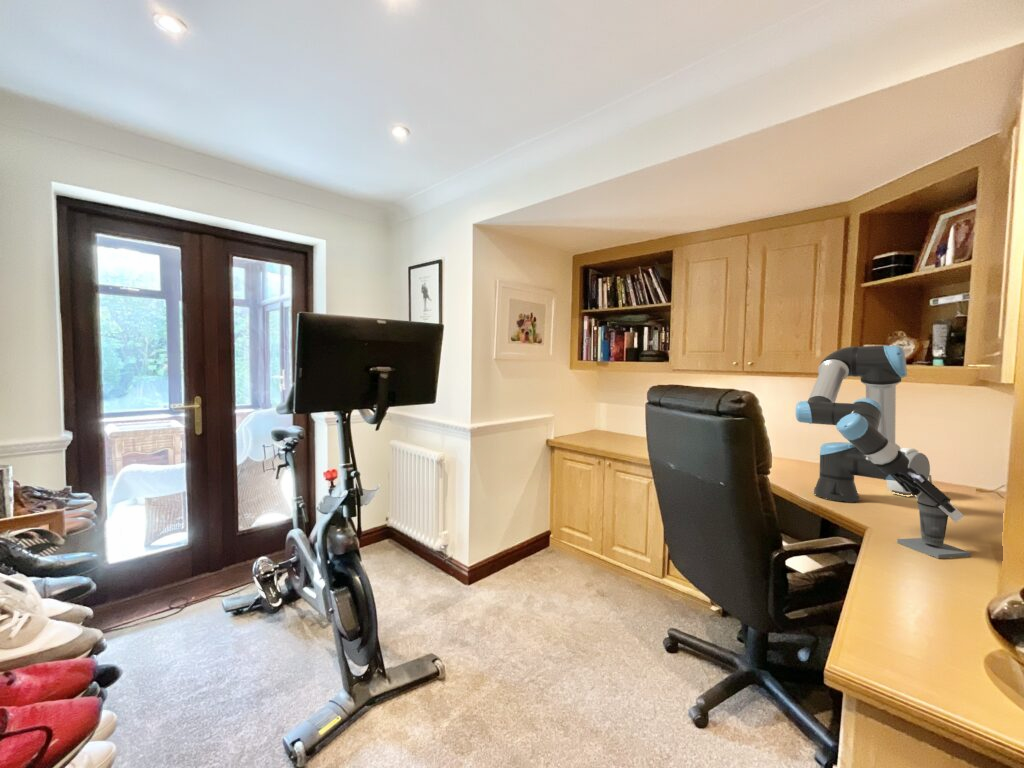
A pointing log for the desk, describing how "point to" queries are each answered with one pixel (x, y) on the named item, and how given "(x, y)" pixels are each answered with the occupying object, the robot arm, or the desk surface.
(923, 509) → the beverage cup
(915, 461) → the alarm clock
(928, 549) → the charcoal rubber mat
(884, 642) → the desk surface
